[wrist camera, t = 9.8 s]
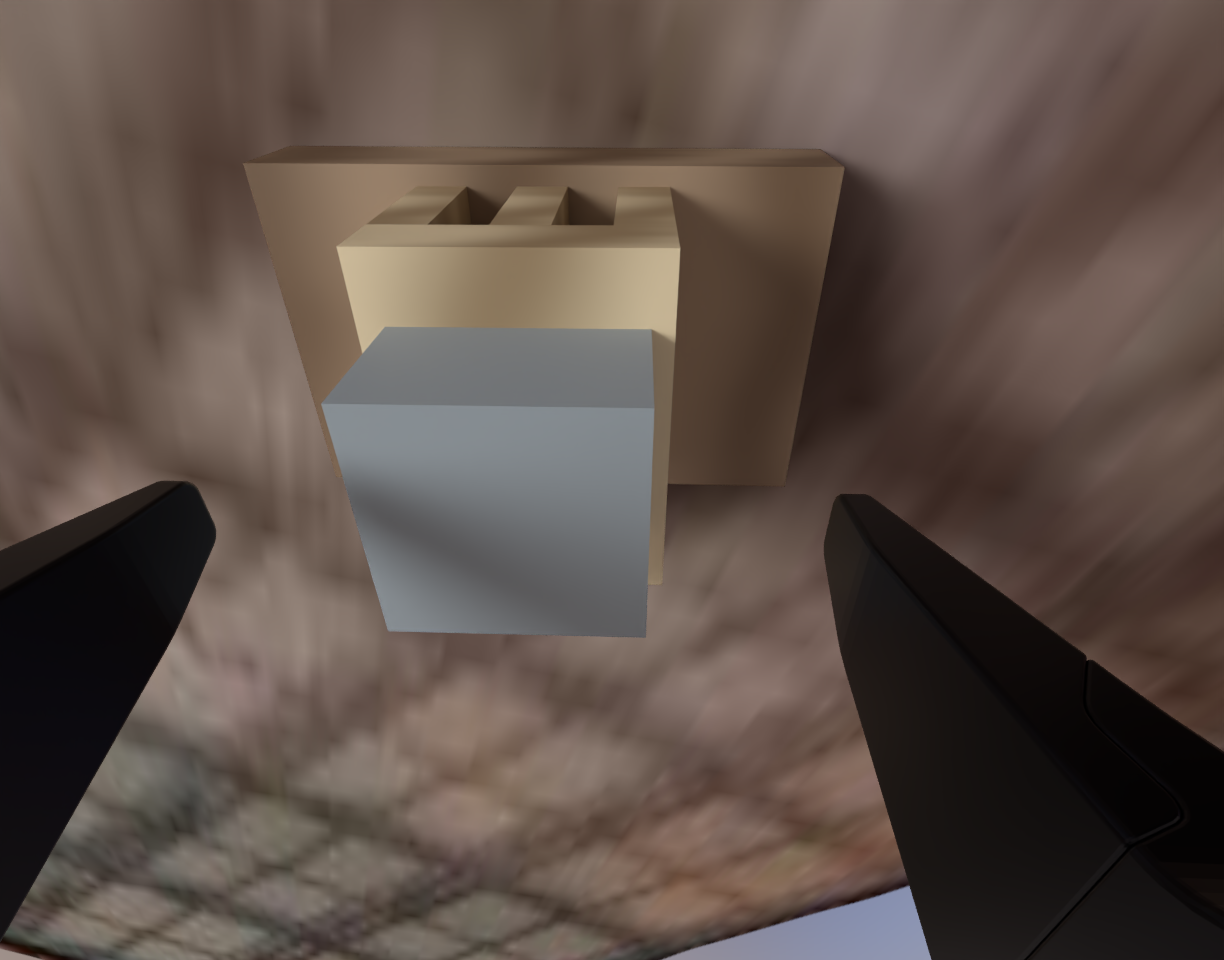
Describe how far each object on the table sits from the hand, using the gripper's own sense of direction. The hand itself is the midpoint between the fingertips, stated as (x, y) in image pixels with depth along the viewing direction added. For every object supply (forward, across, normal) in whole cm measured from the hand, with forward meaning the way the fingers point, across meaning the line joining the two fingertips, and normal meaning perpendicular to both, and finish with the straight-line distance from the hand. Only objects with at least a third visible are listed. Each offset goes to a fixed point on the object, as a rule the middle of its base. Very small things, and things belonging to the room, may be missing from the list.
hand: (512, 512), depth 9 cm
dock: (+12, +1, +2) cm, 12 cm away
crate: (+4, 0, +2) cm, 5 cm away
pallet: (+9, +1, +2) cm, 9 cm away
